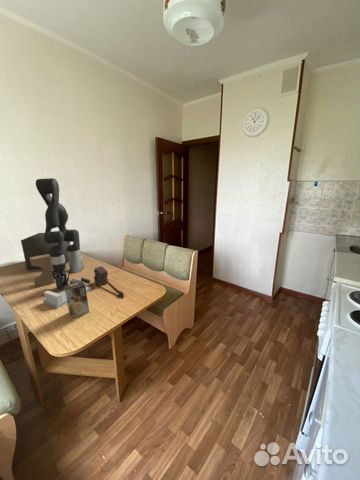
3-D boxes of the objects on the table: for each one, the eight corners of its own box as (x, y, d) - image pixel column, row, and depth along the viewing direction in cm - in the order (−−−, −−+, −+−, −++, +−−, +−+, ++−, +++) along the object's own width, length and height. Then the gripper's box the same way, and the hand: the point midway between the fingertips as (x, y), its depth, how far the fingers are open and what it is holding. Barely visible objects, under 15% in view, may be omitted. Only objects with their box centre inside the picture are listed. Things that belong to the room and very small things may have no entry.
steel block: (63, 285, 136) (61, 273, 133) (69, 287, 134) (67, 275, 131) (56, 289, 131) (54, 276, 129) (62, 290, 129) (59, 278, 127)
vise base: (77, 285, 136) (76, 276, 134) (90, 289, 131) (89, 280, 129) (43, 303, 115) (41, 293, 114) (57, 308, 111) (55, 297, 109)
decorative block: (35, 287, 133) (29, 259, 127) (34, 284, 137) (29, 257, 132) (55, 282, 140) (50, 255, 134) (53, 280, 144) (48, 253, 139)
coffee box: (86, 306, 112) (83, 280, 108) (89, 312, 107) (85, 285, 103) (68, 312, 107) (64, 285, 103) (70, 318, 102) (65, 290, 98)
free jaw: (80, 282, 137) (80, 275, 136) (92, 285, 133) (91, 278, 131) (69, 287, 130) (68, 280, 128) (81, 291, 125) (80, 284, 124)
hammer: (102, 277, 145) (102, 265, 141) (128, 301, 126) (128, 288, 122) (93, 280, 140) (93, 268, 137) (118, 306, 121) (118, 293, 117)
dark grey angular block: (44, 259, 185) (39, 232, 178) (72, 258, 187) (68, 232, 181) (27, 270, 161) (20, 240, 154) (60, 268, 163) (55, 239, 157)
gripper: (71, 261, 128) (75, 285, 132) (56, 258, 134) (60, 281, 138) (60, 265, 121) (64, 291, 126) (45, 262, 127) (49, 286, 131)
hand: (62, 286), depth 132 cm, fingers closed on steel block, 5 cm apart
